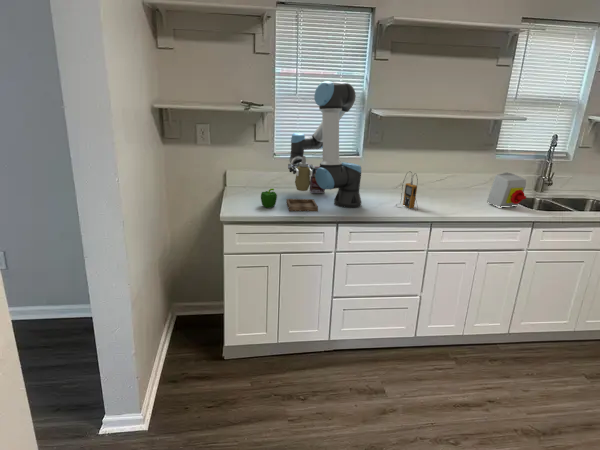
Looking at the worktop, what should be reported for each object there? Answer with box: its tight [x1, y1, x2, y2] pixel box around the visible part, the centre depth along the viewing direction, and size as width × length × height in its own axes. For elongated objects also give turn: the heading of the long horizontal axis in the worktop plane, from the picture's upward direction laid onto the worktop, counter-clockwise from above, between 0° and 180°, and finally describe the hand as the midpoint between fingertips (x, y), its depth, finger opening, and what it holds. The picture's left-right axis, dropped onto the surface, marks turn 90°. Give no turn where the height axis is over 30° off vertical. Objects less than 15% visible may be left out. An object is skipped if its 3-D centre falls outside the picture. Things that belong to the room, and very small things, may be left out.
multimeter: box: [400, 170, 419, 211], centre depth 232 cm, size 15×10×20 cm
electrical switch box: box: [486, 171, 527, 207], centre depth 243 cm, size 15×15×20 cm
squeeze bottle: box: [294, 155, 311, 192], centre depth 220 cm, size 8×8×18 cm
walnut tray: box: [285, 198, 319, 213], centre depth 225 cm, size 15×15×2 cm
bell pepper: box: [260, 187, 278, 209], centre depth 221 cm, size 8×8×10 cm
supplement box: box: [309, 165, 326, 194], centre depth 255 cm, size 9×5×16 cm, turn 104°
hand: (304, 173), depth 214 cm, fingers closed on squeeze bottle, 6 cm apart
